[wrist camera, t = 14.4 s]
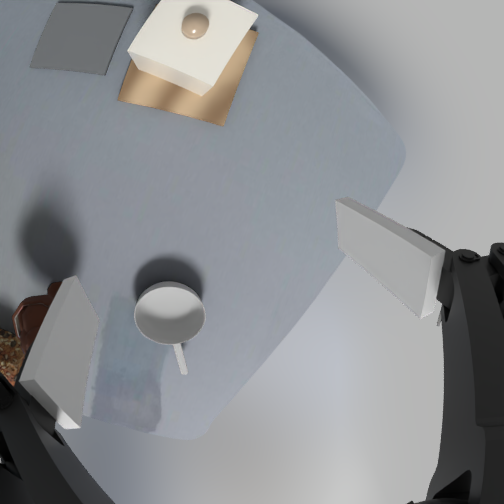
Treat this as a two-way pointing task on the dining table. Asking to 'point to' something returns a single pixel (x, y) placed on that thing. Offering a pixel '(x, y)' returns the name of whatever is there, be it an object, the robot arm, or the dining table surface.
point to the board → (182, 100)
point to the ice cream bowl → (32, 316)
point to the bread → (10, 356)
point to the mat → (80, 37)
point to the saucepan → (170, 316)
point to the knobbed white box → (190, 41)
